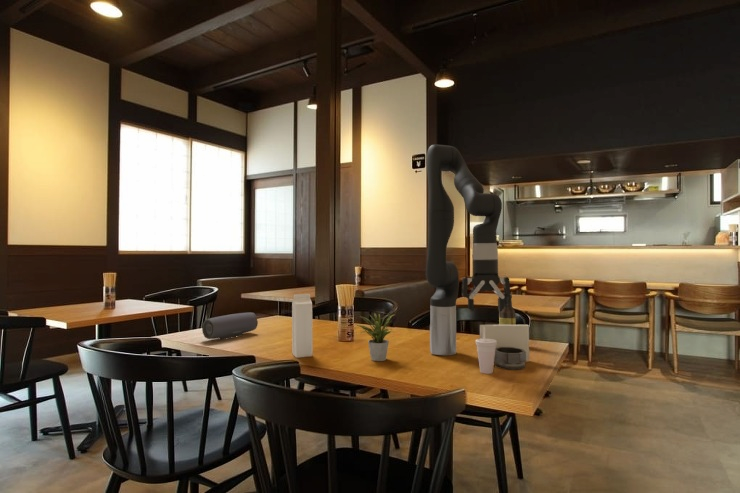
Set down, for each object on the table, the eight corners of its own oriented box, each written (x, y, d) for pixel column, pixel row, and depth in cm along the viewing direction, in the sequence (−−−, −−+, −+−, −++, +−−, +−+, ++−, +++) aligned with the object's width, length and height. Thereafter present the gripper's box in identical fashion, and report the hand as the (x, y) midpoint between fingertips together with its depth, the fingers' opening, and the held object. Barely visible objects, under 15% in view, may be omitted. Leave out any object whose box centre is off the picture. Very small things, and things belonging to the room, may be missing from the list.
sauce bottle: (510, 342, 170) (510, 292, 170) (519, 345, 164) (519, 294, 164) (496, 343, 168) (495, 293, 169) (504, 346, 162) (504, 294, 162)
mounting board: (480, 361, 141) (480, 325, 142) (480, 360, 143) (479, 324, 143) (529, 361, 141) (528, 325, 141) (528, 360, 142) (527, 324, 142)
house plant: (379, 351, 156) (379, 307, 156) (408, 357, 146) (408, 310, 147) (351, 358, 146) (350, 311, 146) (379, 366, 136) (379, 315, 137)
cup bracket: (498, 369, 131) (498, 353, 131) (490, 361, 141) (490, 346, 141) (528, 370, 131) (528, 353, 131) (518, 361, 141) (518, 346, 141)
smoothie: (472, 369, 132) (472, 324, 132) (492, 368, 132) (492, 324, 132) (479, 375, 125) (479, 328, 126) (500, 374, 126) (500, 328, 126)
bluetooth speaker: (245, 331, 196) (245, 310, 196) (258, 334, 191) (258, 312, 191) (201, 340, 178) (201, 317, 178) (214, 343, 172) (214, 319, 173)
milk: (312, 356, 150) (312, 294, 150) (295, 358, 148) (295, 295, 148) (308, 352, 156) (308, 292, 156) (291, 354, 153) (291, 293, 153)
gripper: (463, 258, 126) (464, 313, 126) (512, 258, 125) (513, 312, 125) (459, 258, 133) (460, 309, 133) (505, 257, 133) (506, 309, 133)
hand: (486, 311), depth 129 cm, fingers open, 8 cm apart
